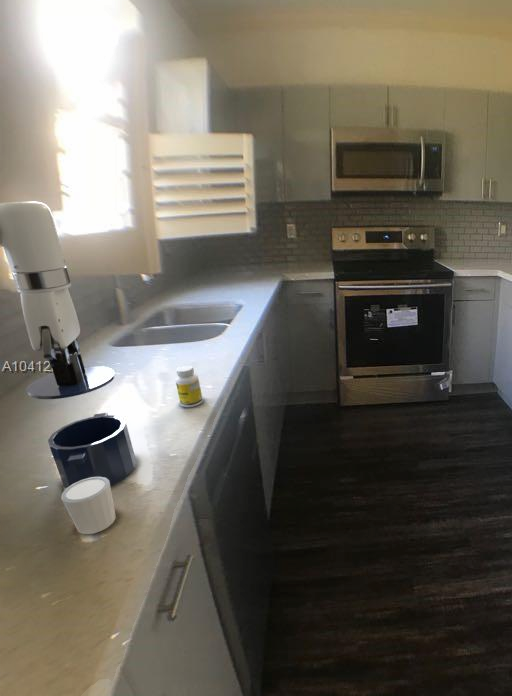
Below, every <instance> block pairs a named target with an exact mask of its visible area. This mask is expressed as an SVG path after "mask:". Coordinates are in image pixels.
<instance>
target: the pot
mask: <svg viewBox="0 0 512 696" xmlns="http://www.w3.org/2000/svg"><path fill="white" fill-rule="evenodd" d="M47 441H48V442H47V443H48V446H49V449H50V452H51V455H52V457H53V461H54V464H55V466H56V469H57V472H58V474H59V477H60V481H61V483H62V486H63V488H64V490H65V489H66V488H68V487H69V486H71V485H72V484H74V483H76V482H78V481H80V480H83V479H87V478H90V477H105V478H107V479H108V480H109V482H110V487H113V486H115V485H117V484H119V483H120V482H122V481H125V479H127V478H128V477H130V476H131V475H132V474H133V472H134V471H135V469H136V467H137V458H136V455H135V451H134V447H133V443H132V440H131V436H130V432H129V429H128V426H127V422H126V421H125V419H124V418H123V417H121V416H118V415H112V414H111V415H109V414H108V412H101V413H95V414H93V416H88V417H87V418H82V419H79V420H76V421H73V422H71V423H68V424H66V425H64V426H61V427H60V428H58V429H57V430H56V431H54V432H53V433H51V435H50V436H49V438H48V439H47Z"/></svg>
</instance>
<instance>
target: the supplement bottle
mask: <svg viewBox="0 0 512 696" xmlns="http://www.w3.org/2000/svg"><path fill="white" fill-rule="evenodd" d="M175 370H176V375H177V376H176V378H175V386H176V390H177V394H178V399H179V404H180V406H181V407H184V408H194V407H197V406H199V405H200V404H202V402H203V401H204V400H203V394H202V389H201V385H200V379H199V375H197V373H195V369H194V366H192V365H182V366H179V367H177V368H176V369H175Z"/></svg>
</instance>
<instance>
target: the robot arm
mask: <svg viewBox="0 0 512 696" xmlns="http://www.w3.org/2000/svg"><path fill="white" fill-rule="evenodd" d="M57 231H58V230H57V228H56V224H55V221H54V217H53V214H52V211H51V209H50V207H49V206H48V205H47V204H45V203H43V202H40V201H11V202H9V201H8V202H0V248H3V250H4V253H5V256H6V259H7V262H8V265H9V269H10V271H11V276H12V278H13V282H14V285H15V288H16V291H17V293H19V294H20V303H21V309H22V314H23V318H24V323H25V325H26V326H25V327H26V331H27V335H28V338H29V342H30V345H31V348H32V350H34V351H35V352H40V351H42V357H43V358H44V359H45V360H48V362H49V366H50V367H51V369H52V370H51V371H52V372H53V373H54V376H55V379H56V383H57V385H58V386H67V385H75V384H77V383H78V378H77V374H76V371H75V368H74V364H73V362H72V363H70V358H69V354H68V351H74V352H76V353H77V356H78V360H79V363H80V367H81V370H82V374H83V375H84V374H85V373H86V372H85V368H84V367H85V365H84V362H83V357H82V354H81V349H80V346H79V343H78V337H79V336H80V334H81V326H80V322H79V318H78V315H77V312H76V307H75V304H74V302H73V299H72V296H71V293H70V291H69V288H71V287H72V283H71V279H70V276H69V275H70V274H69V272H68V269H67V266H66V261H65V257H64V254H63V250H62V247H61V246H62V245H61V242H60V239H59V235H58V232H57ZM55 345H57V346H55ZM61 352H62V354H63V356H62V355H61V354H60V353H61Z"/></svg>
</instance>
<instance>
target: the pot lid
mask: <svg viewBox="0 0 512 696" xmlns="http://www.w3.org/2000/svg"><path fill="white" fill-rule="evenodd" d="M59 353H60V354H61V355H62V356H63V354H62V352H59ZM68 354H69V358H70V363H72V362H73V364H74V368H75V371H76V374H77V378H78V383H77V384H75V385H67V386H58V385H57V383H56V379H55V376H54V373H50V374H47V375H44V376H42V377H40V378H37V379H35V380H34V381H33V382H31V383H30V384H28V386H27V387H26V393H27V395H28V396H29V397H30V398H33V399H38V400H59V399H67V398H72V397H76V396H81V395H84V394H85V395H86V394H87V393H92V392H94V391H96V390H99V389H101V388H103V387H105V386H107V385H108V384H110V383H111V382H112V381H114V379H115V378H116V373H115V370H113V369H112V368H111V367H106V366H99V365H98V366H92V365H91V366H84V368H85V372H86V373H85V374H84V375H83V374H82V370H81V367H80V363H79V360H78V356H77V353H76V352H74V351H68Z"/></svg>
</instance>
